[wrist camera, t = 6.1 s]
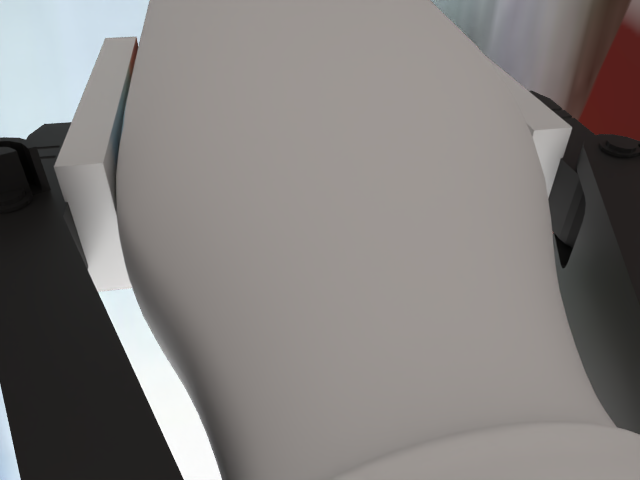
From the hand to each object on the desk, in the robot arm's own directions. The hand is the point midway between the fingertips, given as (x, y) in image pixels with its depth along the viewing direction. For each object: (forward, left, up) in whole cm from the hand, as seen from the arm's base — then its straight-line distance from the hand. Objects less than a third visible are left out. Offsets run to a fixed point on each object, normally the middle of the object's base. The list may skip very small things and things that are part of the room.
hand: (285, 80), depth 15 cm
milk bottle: (0, 0, -5) cm, 5 cm away
